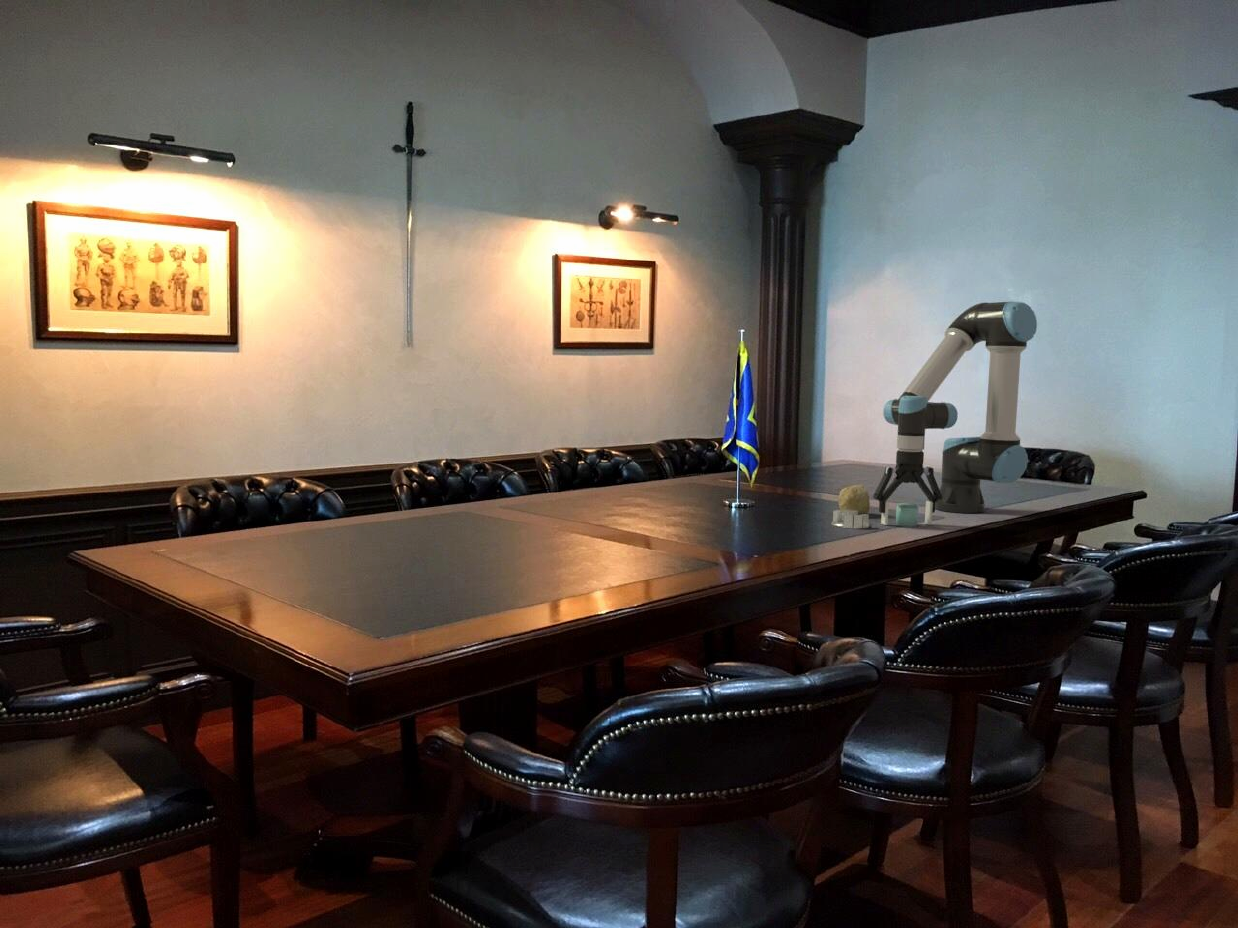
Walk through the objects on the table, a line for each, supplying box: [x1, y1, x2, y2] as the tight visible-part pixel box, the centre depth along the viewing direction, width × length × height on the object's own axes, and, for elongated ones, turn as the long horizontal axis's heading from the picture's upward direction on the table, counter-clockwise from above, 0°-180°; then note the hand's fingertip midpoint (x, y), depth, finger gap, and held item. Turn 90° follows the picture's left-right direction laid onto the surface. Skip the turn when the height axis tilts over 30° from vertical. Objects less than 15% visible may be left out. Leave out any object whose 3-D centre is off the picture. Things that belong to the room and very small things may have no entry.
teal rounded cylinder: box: [895, 502, 919, 528], centre depth 296 cm, size 6×6×6 cm
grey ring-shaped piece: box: [831, 509, 870, 530], centre depth 294 cm, size 10×10×4 cm
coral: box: [838, 483, 871, 515], centre depth 312 cm, size 10×10×10 cm
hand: (906, 524), depth 297 cm, fingers open, 13 cm apart
